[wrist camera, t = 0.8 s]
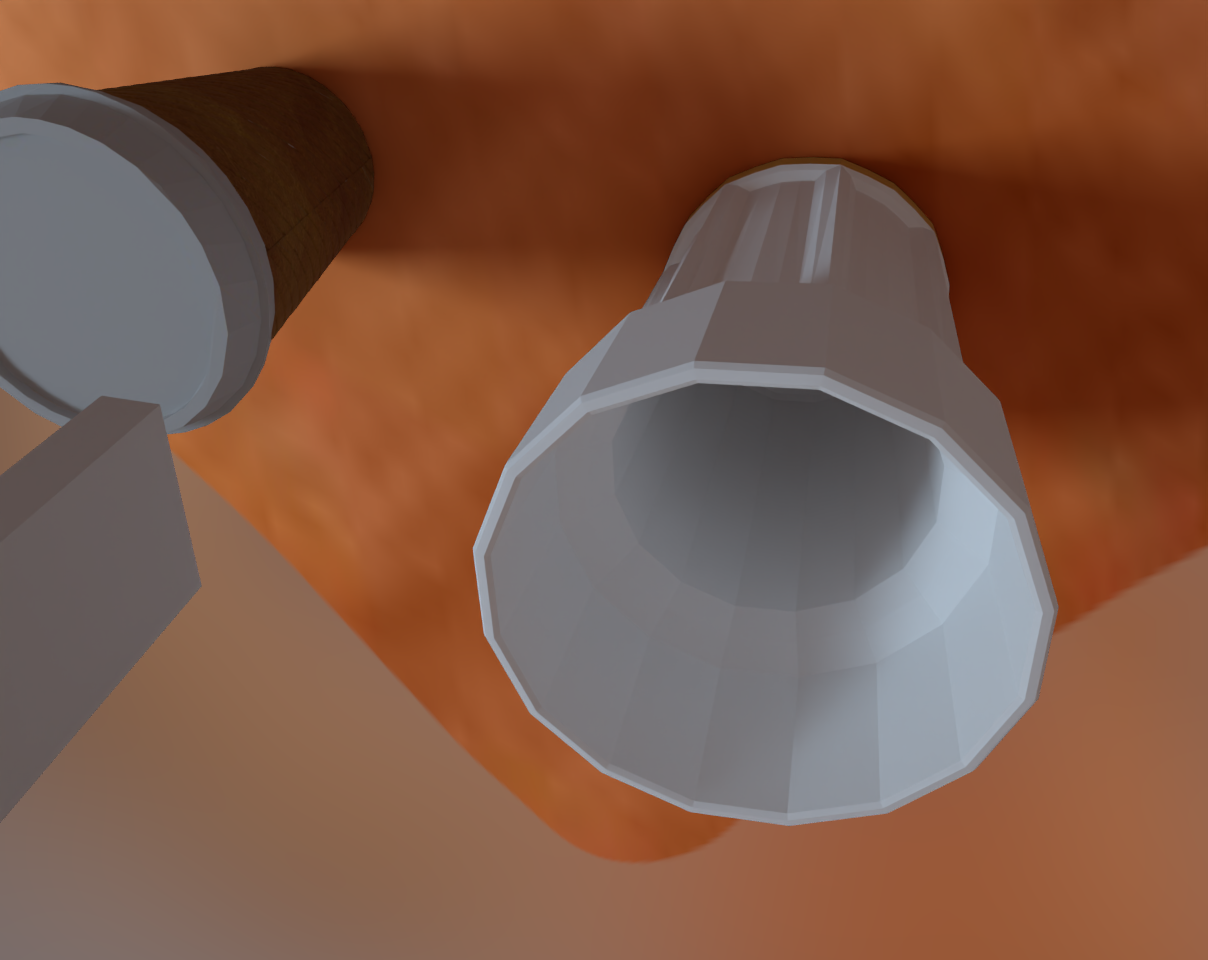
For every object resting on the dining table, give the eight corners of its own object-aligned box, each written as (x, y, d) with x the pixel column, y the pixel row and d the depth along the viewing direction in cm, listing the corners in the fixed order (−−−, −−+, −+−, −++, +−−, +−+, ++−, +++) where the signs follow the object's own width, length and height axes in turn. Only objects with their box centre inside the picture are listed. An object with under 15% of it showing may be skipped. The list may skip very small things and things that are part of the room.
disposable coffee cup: (474, 214, 36) (320, 365, 27) (281, 335, 41) (86, 505, 31) (296, -50, 33) (44, 9, 23) (107, 111, 37) (-174, 220, 28)
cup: (1065, 258, 33) (1205, 605, 19) (833, 500, 39) (804, 901, 25) (764, 40, 32) (665, 232, 17) (574, 326, 38) (383, 643, 23)
